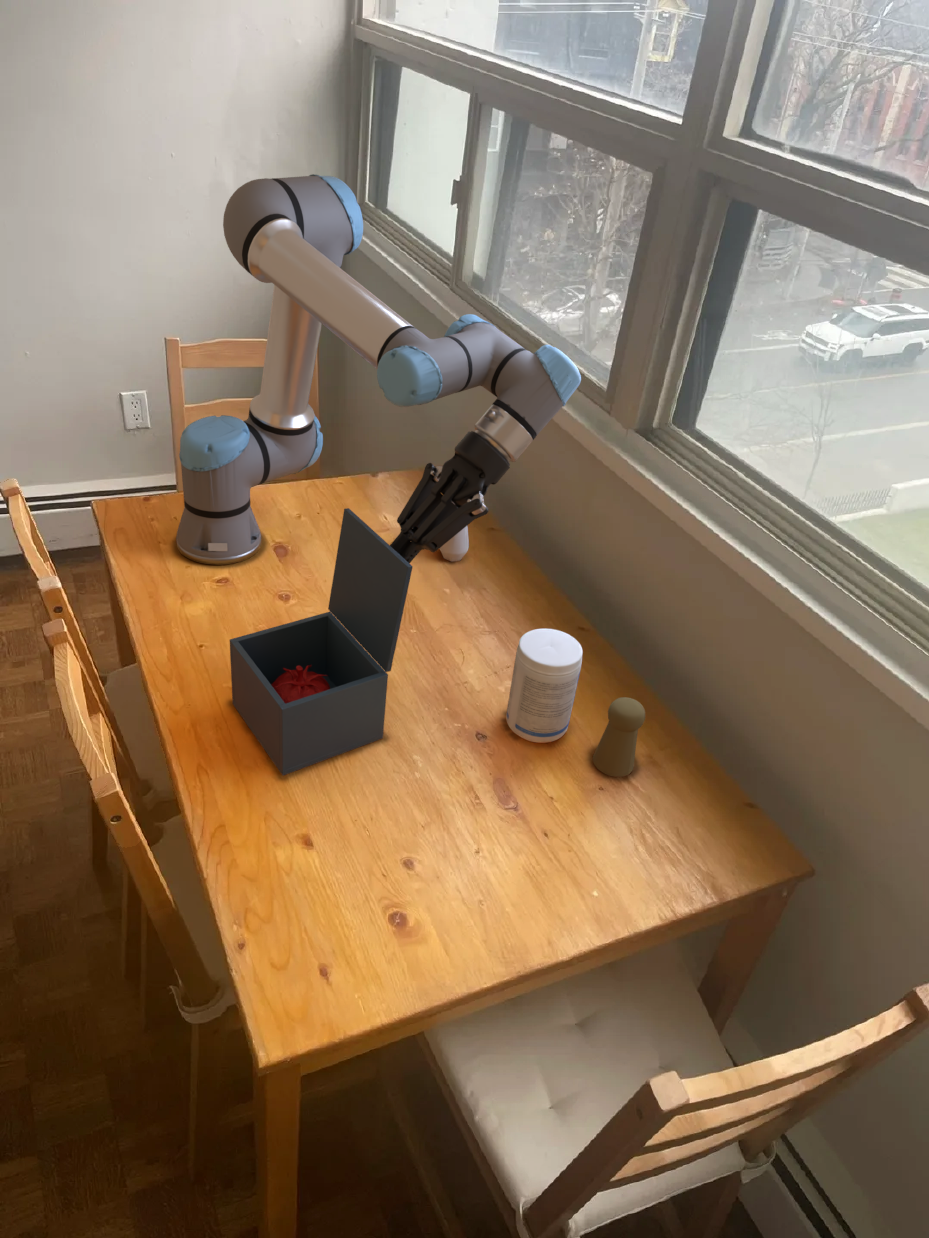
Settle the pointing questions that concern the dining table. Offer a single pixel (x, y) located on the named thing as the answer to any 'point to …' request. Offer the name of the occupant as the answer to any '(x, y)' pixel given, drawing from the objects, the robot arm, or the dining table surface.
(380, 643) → the lid
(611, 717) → the olive brown pawn
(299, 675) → the red tomato
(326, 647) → the box
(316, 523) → the dining table surface
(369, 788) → the dining table surface
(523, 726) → the supplement tub
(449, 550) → the salt shaker
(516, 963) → the dining table surface
